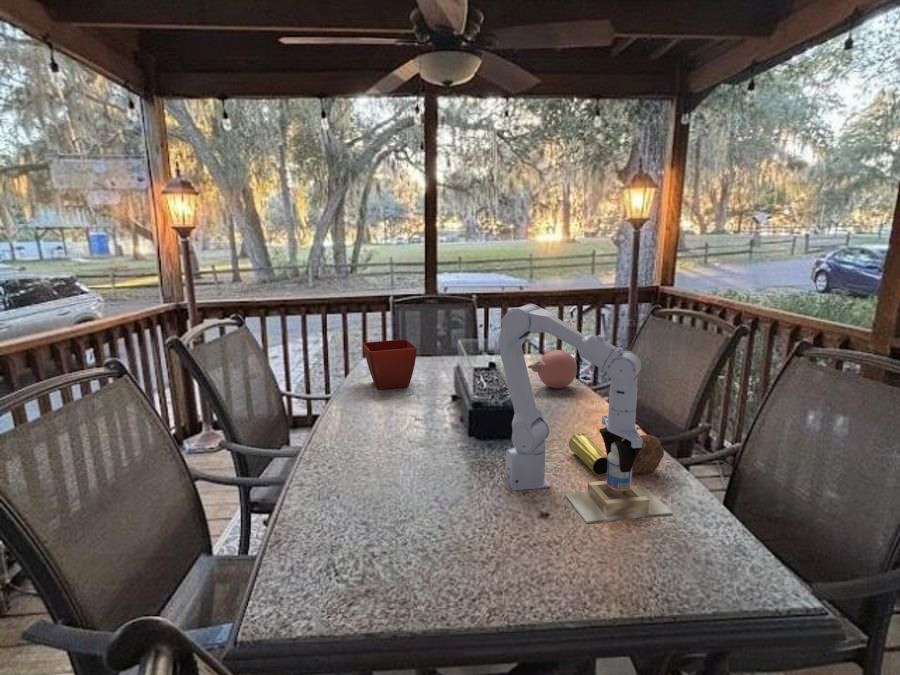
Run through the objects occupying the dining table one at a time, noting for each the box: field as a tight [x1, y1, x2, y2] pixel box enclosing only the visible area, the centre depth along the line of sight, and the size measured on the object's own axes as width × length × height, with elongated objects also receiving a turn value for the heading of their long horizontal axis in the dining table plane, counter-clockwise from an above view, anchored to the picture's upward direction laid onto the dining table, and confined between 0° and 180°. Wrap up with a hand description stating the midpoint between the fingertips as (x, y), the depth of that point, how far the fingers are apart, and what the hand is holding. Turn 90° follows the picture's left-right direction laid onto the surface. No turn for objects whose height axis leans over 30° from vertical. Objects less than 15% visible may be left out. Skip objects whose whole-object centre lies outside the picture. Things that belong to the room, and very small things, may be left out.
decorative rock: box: [622, 434, 665, 476], centre depth 131 cm, size 13×11×10 cm
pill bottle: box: [606, 442, 633, 491], centre depth 114 cm, size 6×5×10 cm
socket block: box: [564, 480, 673, 524], centre depth 115 cm, size 20×12×3 cm, turn 99°
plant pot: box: [362, 338, 418, 390], centre depth 209 cm, size 19×19×17 cm
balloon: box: [527, 349, 578, 390], centre depth 202 cm, size 15×20×15 cm
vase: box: [568, 432, 608, 477], centre depth 136 cm, size 6×6×14 cm
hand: (618, 465), depth 114 cm, fingers closed on pill bottle, 5 cm apart
